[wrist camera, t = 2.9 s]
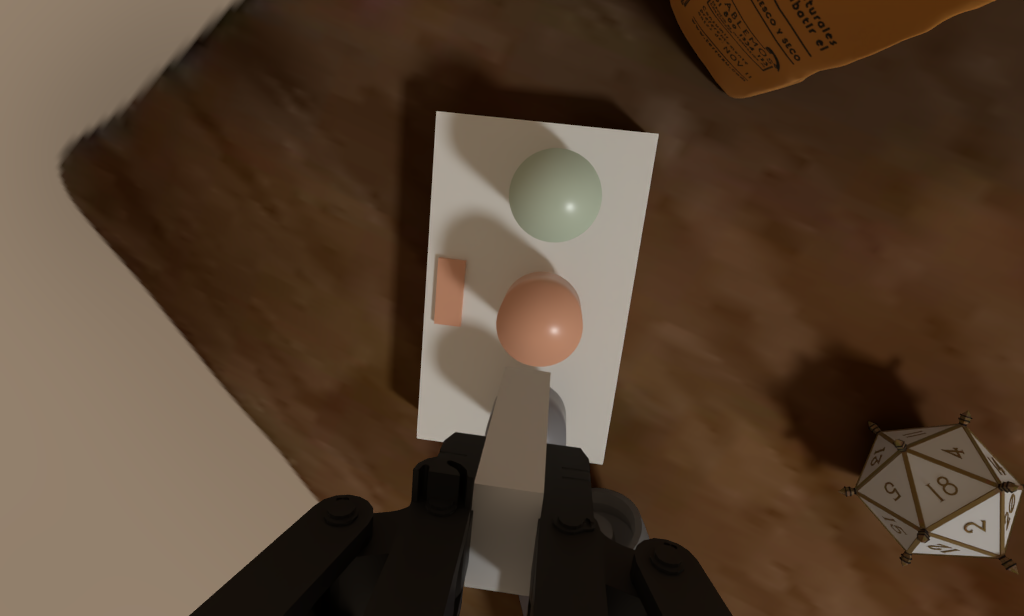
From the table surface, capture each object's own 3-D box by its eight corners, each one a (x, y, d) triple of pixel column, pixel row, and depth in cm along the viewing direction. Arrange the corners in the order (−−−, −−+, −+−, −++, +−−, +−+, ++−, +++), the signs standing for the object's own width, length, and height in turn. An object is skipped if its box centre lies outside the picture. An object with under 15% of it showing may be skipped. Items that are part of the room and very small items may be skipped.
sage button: (591, 238, 29) (594, 247, 26) (510, 229, 29) (504, 237, 26) (604, 153, 28) (608, 153, 25) (518, 144, 28) (513, 143, 25)
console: (599, 440, 37) (603, 467, 34) (428, 416, 38) (415, 440, 35) (650, 136, 32) (659, 133, 28) (447, 115, 32) (435, 110, 29)
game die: (866, 400, 38) (999, 367, 29) (959, 502, 37) (1133, 502, 27) (783, 480, 36) (901, 471, 27) (879, 593, 34) (1041, 627, 25)
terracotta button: (575, 351, 31) (576, 372, 28) (499, 341, 31) (492, 360, 28) (586, 276, 30) (588, 289, 27) (506, 266, 30) (500, 278, 27)
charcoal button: (561, 452, 33) (560, 481, 30) (488, 442, 33) (481, 469, 30) (570, 385, 31) (571, 408, 28) (495, 375, 32) (488, 397, 29)
